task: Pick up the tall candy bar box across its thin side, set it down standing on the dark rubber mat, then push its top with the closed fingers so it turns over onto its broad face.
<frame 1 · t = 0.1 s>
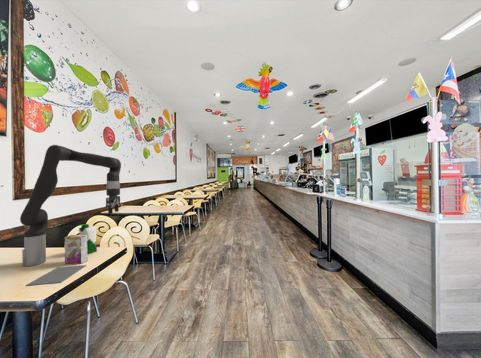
hand: (113, 212, 129), 29 cm above the table, fingers open, 8 cm apart
candy bar box: (76, 262, 122), on the table
milk carton: (88, 252, 139), on the table
mat: (59, 274, 105), on the table
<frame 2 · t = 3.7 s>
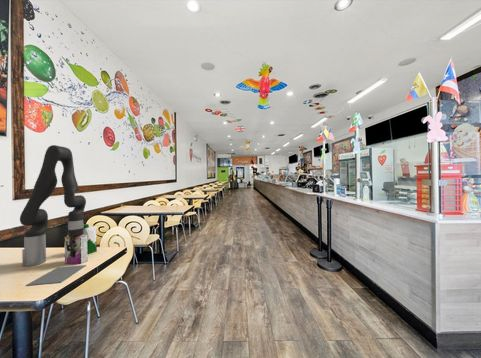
hand: (76, 254, 122), 5 cm above the table, fingers closed on candy bar box, 5 cm apart
candy bar box: (76, 262, 122), on the table, touching gripper
everything else where it was.
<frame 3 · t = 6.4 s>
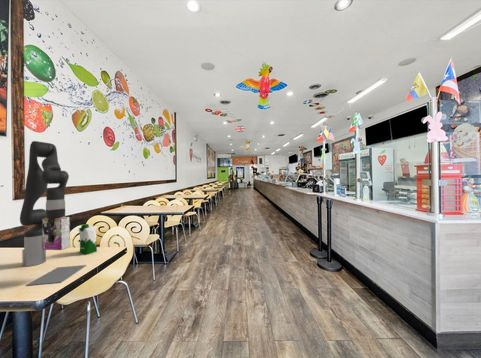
hand: (56, 240, 103), 19 cm above the table, fingers closed on candy bar box, 5 cm apart
candy bar box: (56, 249, 103), point 14 cm above the table, touching gripper
everything else where it was.
when the fingers open (6 cm above the table, at t = 9.6 s): candy bar box stays where it is, resting on mat.
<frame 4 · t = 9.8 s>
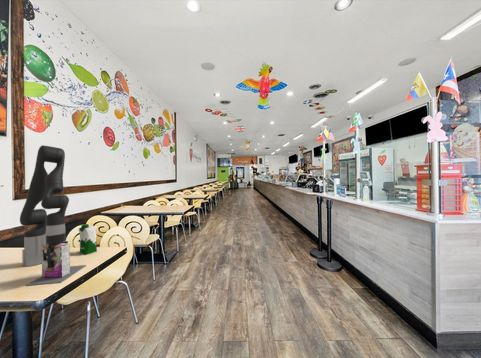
hand: (56, 264, 103), 6 cm above the table, fingers open, 6 cm apart
candy bar box: (56, 276, 103), resting on mat
everything else where it was.
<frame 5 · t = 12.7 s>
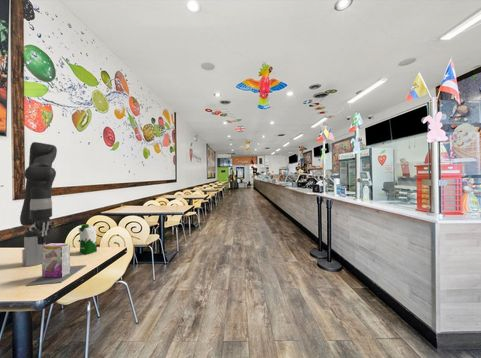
hand: (41, 244, 95), 20 cm above the table, fingers closed
nothing on the table moved.
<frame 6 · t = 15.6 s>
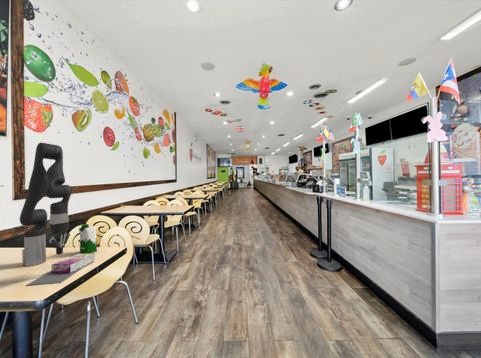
hand: (59, 253, 106), 11 cm above the table, fingers closed
candy bar box: (60, 268, 106), point 3 cm above the table, touching mat
everything else where it was.
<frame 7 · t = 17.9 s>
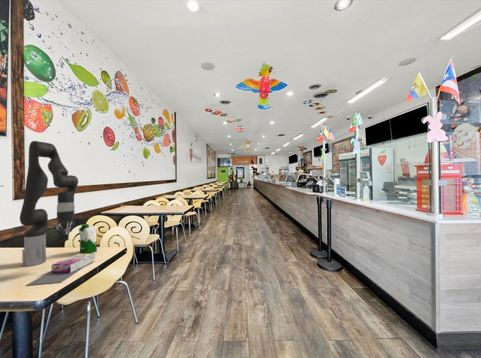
hand: (65, 240, 112), 16 cm above the table, fingers closed
nothing on the table moved.
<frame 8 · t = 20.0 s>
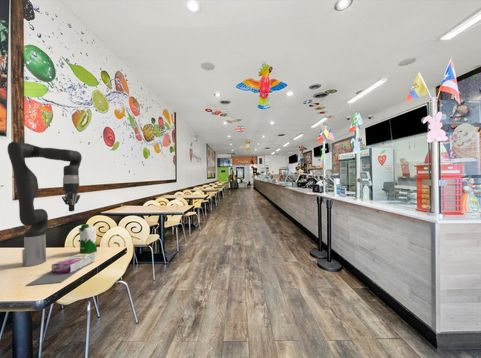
hand: (71, 211, 120), 32 cm above the table, fingers closed
nothing on the table moved.
at the end: candy bar box tilted 91°; candy bar box inside the target area (5.6 cm from its centre), point 2.9 cm above the table; the gripper is holding nothing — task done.
